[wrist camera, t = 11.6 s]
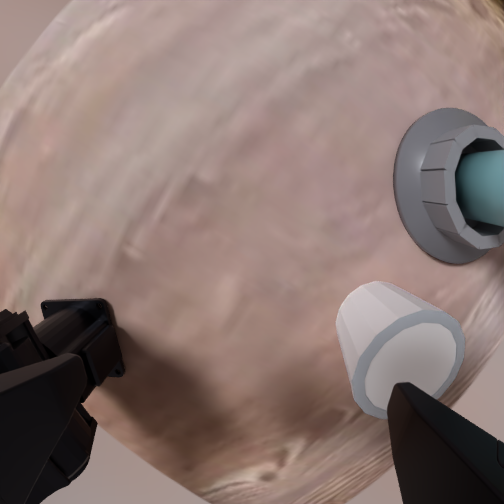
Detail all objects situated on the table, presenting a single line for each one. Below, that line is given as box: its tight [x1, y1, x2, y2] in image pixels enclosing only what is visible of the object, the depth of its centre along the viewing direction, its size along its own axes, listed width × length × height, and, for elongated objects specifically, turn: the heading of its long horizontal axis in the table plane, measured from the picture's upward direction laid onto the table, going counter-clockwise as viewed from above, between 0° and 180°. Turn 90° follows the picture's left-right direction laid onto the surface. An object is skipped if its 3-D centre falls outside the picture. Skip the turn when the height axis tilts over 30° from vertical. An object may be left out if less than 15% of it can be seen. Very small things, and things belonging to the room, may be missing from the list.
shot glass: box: [336, 281, 465, 419], centre depth 17 cm, size 7×7×7 cm
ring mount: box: [393, 108, 504, 264], centre depth 16 cm, size 11×11×4 cm
